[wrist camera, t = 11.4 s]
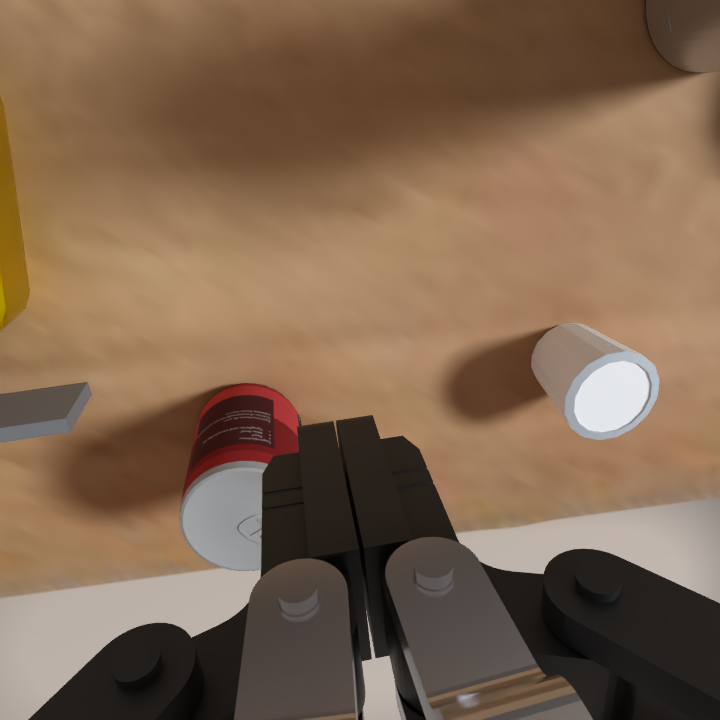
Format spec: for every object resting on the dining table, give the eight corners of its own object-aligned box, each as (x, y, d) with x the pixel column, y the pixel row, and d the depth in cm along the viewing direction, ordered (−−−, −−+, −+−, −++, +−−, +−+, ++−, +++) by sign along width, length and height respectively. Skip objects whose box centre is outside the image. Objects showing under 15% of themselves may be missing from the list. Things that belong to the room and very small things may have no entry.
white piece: (506, 376, 45) (545, 422, 39) (555, 301, 43) (605, 336, 37) (573, 405, 48) (620, 453, 41) (622, 335, 45) (680, 374, 39)
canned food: (263, 484, 46) (262, 590, 36) (176, 435, 43) (150, 536, 33) (323, 416, 44) (340, 509, 35) (237, 360, 41) (228, 444, 32)
